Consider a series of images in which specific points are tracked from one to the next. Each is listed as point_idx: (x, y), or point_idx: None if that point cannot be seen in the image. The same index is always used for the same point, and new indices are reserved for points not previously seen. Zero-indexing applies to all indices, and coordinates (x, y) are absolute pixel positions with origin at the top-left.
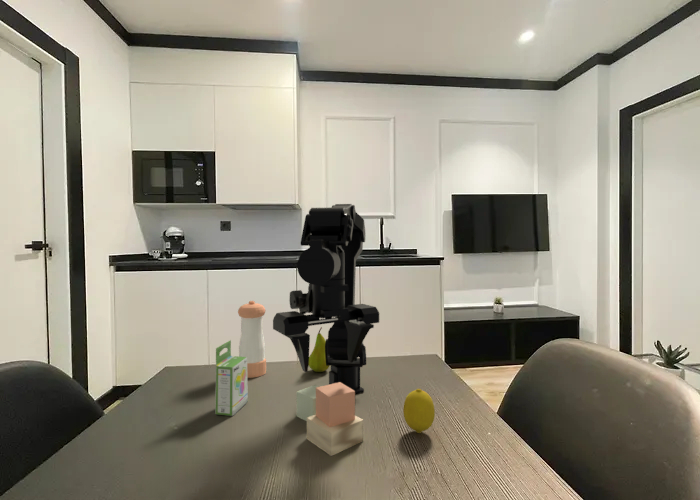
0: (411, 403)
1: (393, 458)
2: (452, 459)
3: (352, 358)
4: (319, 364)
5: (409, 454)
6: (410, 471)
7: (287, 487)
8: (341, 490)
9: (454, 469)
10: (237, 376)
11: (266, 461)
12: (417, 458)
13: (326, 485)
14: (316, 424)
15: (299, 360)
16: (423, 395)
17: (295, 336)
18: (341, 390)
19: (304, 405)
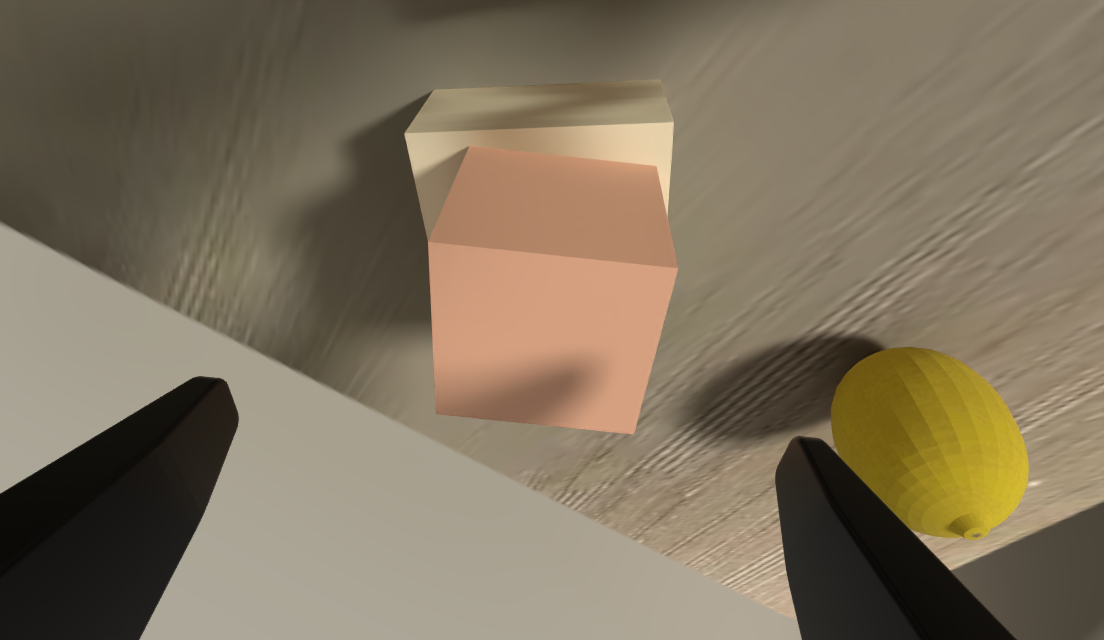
0: (872, 486)
1: (644, 402)
2: (775, 488)
3: (786, 530)
4: None
5: (705, 416)
6: (628, 459)
7: (253, 324)
8: (404, 412)
9: (730, 507)
10: None
11: (193, 149)
12: (703, 438)
13: (374, 378)
14: (426, 229)
15: (81, 452)
16: (940, 536)
17: None
18: (567, 386)
19: None
